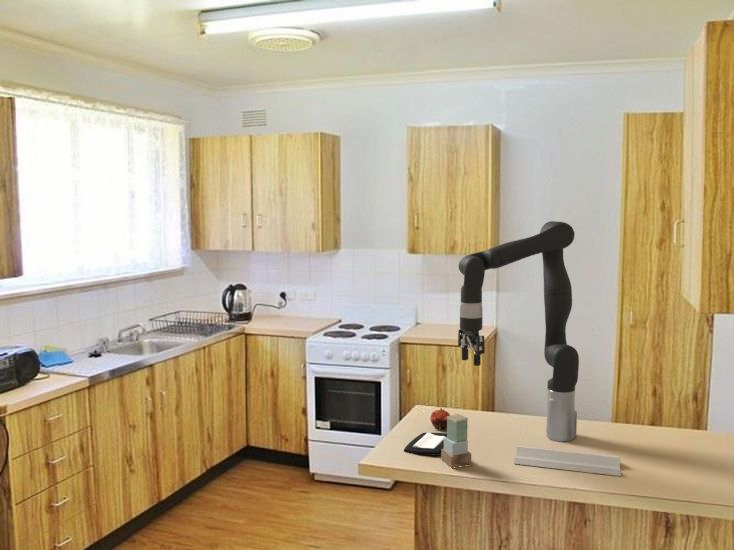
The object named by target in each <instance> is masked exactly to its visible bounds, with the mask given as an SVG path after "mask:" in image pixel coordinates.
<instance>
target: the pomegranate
mask: <svg viewBox="0 0 734 550" xmlns="http://www.w3.org/2000/svg"><path fill="white" fill-rule="evenodd" d="M447 416H451V414H450V413H449V412H448V411H447V410H445V409H442V407H441V408H439V409H436V410H434V411H432V413H431V414H430V419H429V420H430V422H431V424H432V426H433V427H435V428H437V429H438V431H441V428H440V427H443V428H442V429H445V428H446V429H447ZM438 427H439V428H438Z"/></svg>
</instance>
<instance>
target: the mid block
mask: <svg viewBox="0 0 734 550" xmlns="http://www.w3.org/2000/svg"><path fill="white" fill-rule="evenodd" d="M468 444H469V441H468V439H467V440H464V441H461V442H457V443H456V442H454V441H452V440H449V439H447V437H445V438H444V450H445V451H446V452H448V453H449V454H450V455H452V456H454V455H460V454H466V453H468V452H469V451H468V450H469V445H468Z"/></svg>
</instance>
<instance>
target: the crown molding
mask: <svg viewBox="0 0 734 550" xmlns="http://www.w3.org/2000/svg"><path fill="white" fill-rule="evenodd" d="M515 454H516V455H515V457H514V465H519V464H520V465H521V466H529V467H538V468H547V469H553V470H554V469H555V470H562V471H571V472H572V471H573V472H581V473H589V474H590V473H591V474H597V475H598V474H599V475H608V476H615V477H622V469H621V457H620V456H617V455H615V456H614V455H608V454H598V453H589V452H588V453H587V452H580V451H571V450H570V451H569V450H561V449H554V448H553V449H551V448H542V447H534V446H533V447H532V446H524V445H517V446H516V452H515Z"/></svg>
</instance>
